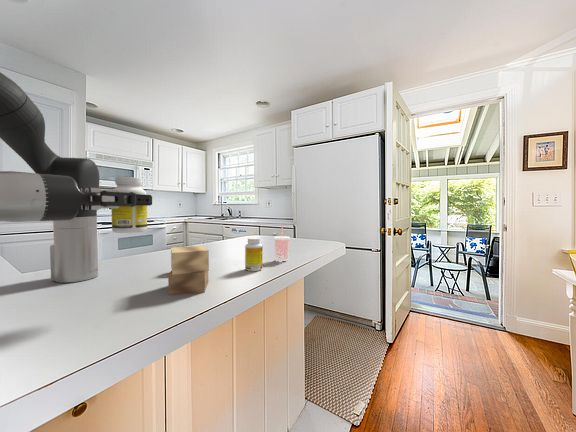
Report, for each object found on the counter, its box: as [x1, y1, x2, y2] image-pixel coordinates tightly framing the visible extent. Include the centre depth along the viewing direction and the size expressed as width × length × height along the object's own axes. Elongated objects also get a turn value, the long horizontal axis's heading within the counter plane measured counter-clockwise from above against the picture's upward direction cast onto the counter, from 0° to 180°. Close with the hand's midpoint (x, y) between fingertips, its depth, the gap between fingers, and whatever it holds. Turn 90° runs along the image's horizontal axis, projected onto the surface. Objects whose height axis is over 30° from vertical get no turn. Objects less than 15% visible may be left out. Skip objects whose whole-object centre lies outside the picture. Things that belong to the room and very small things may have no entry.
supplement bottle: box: [244, 237, 264, 272], centre depth 80 cm, size 6×6×10 cm
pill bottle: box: [110, 176, 148, 234], centre depth 51 cm, size 6×6×11 cm
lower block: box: [167, 270, 209, 296], centre depth 62 cm, size 8×8×5 cm
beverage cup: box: [273, 223, 291, 262], centre depth 93 cm, size 6×6×14 cm
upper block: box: [170, 245, 210, 275], centre depth 62 cm, size 8×8×5 cm
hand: (141, 200), depth 53 cm, fingers closed on pill bottle, 6 cm apart
